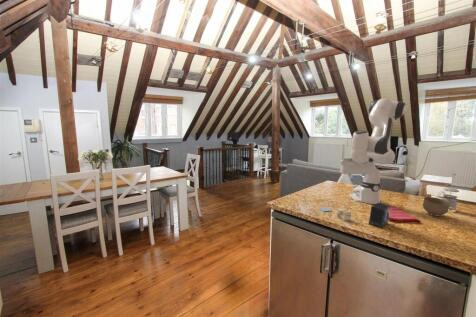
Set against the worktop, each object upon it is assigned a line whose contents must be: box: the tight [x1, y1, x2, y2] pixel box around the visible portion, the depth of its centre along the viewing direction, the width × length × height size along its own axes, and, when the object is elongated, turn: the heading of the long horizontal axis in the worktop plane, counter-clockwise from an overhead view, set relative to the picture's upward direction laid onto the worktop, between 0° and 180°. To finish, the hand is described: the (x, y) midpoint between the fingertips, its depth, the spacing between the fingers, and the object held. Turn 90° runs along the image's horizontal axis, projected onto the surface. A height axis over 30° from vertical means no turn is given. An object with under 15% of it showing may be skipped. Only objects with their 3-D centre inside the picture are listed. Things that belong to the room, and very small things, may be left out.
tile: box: [317, 206, 333, 213], centre depth 150 cm, size 6×6×1 cm
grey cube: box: [349, 174, 363, 186], centre depth 142 cm, size 5×5×5 cm
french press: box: [436, 172, 460, 210], centre depth 157 cm, size 10×12×25 cm
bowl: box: [422, 196, 450, 216], centre depth 147 cm, size 13×13×10 cm
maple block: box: [336, 208, 352, 222], centre depth 136 cm, size 5×5×5 cm
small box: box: [368, 202, 391, 228], centre depth 130 cm, size 11×6×10 cm, turn 129°
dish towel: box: [371, 204, 422, 223], centre depth 145 cm, size 17×24×3 cm
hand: (355, 181), depth 142 cm, fingers closed on grey cube, 5 cm apart
